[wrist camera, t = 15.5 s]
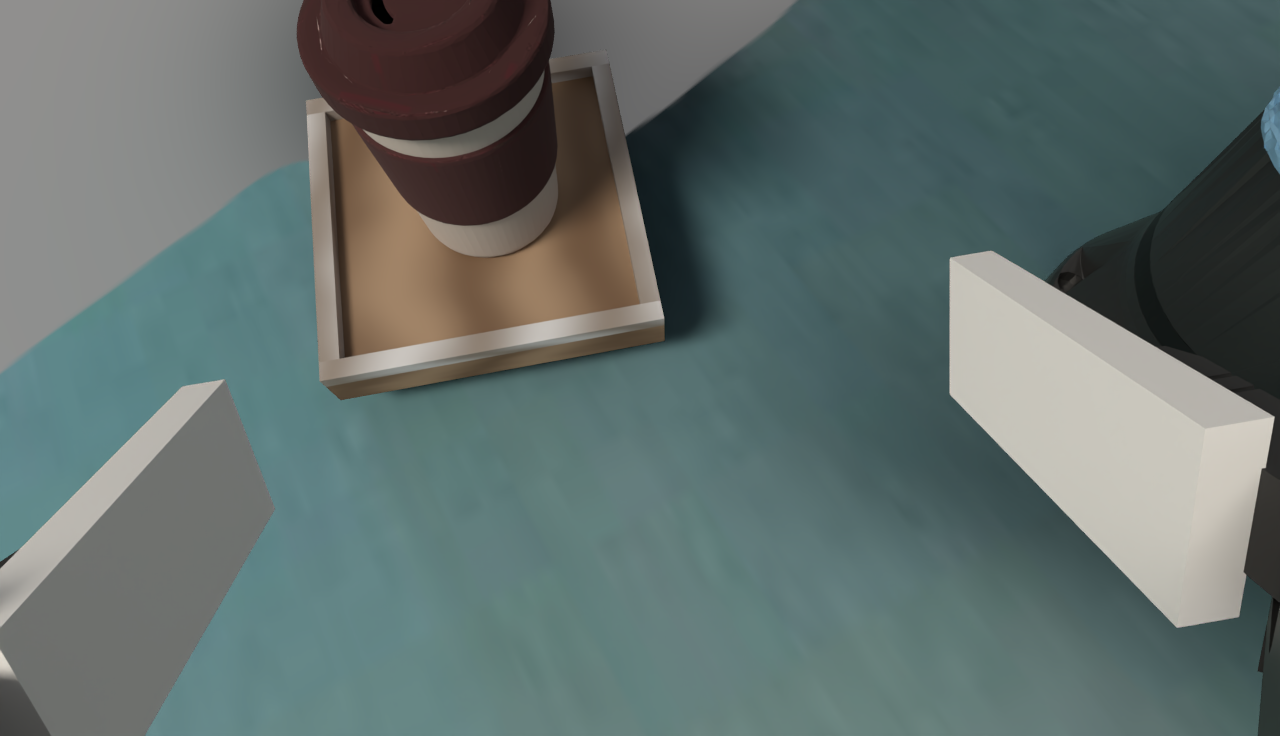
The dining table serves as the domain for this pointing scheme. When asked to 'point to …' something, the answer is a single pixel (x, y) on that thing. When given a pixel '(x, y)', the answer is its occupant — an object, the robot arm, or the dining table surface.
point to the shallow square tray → (479, 259)
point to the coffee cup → (447, 107)
